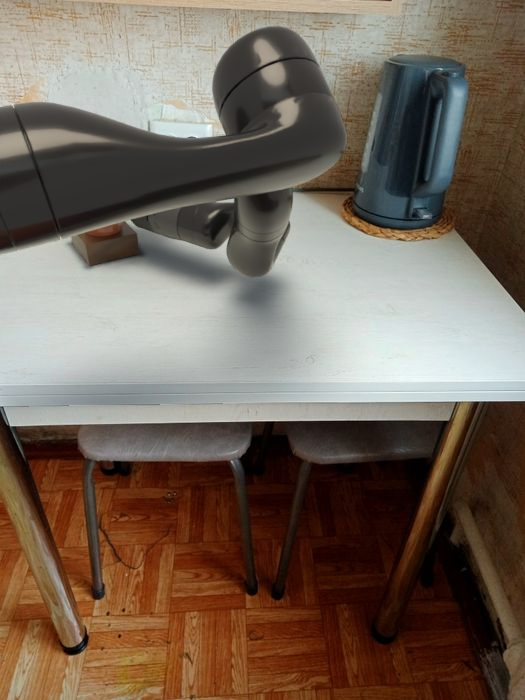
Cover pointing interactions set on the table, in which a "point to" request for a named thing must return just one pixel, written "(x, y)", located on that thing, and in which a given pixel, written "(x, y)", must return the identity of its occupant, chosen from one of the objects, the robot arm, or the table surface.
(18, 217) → the robot arm
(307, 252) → the table surface
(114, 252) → the block
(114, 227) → the cup
